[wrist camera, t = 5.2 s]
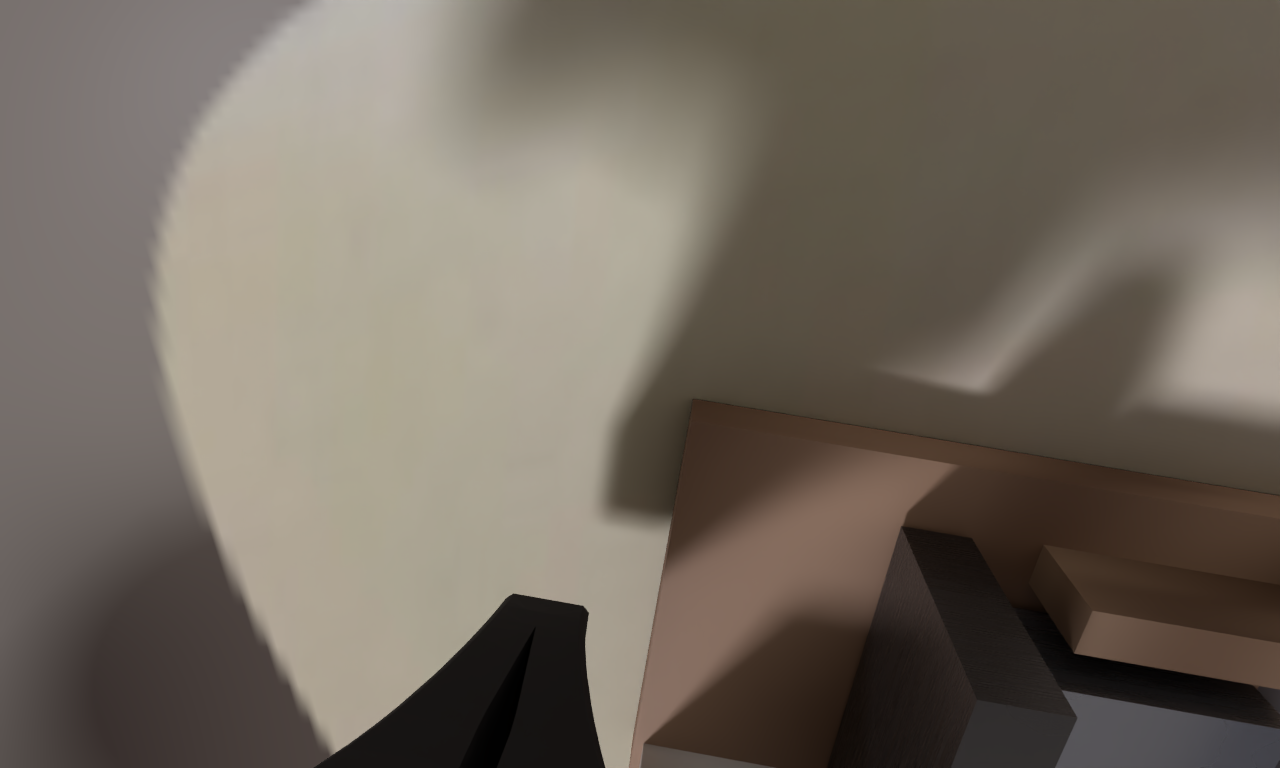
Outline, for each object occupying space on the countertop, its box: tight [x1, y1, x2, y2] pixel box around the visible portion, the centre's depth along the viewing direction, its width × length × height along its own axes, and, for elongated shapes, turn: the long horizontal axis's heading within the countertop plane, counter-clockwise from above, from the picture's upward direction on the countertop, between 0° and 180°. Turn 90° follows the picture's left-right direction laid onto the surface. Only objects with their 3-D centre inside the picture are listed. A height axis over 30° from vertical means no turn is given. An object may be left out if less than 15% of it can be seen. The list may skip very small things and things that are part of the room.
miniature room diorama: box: [629, 399, 1280, 768], centre depth 12 cm, size 12×8×6 cm
